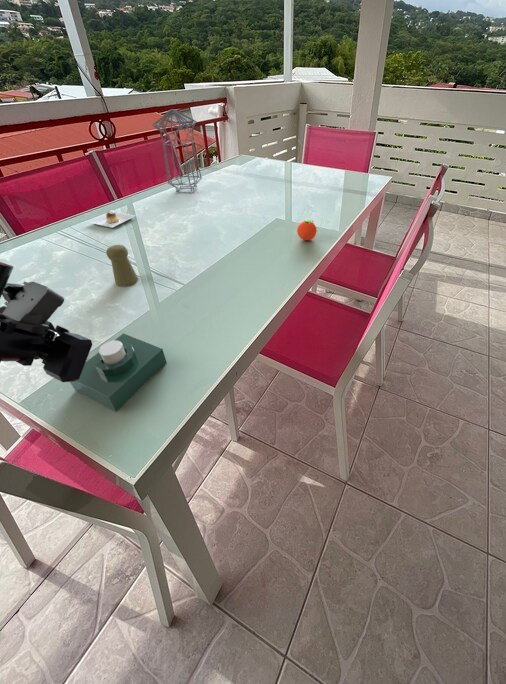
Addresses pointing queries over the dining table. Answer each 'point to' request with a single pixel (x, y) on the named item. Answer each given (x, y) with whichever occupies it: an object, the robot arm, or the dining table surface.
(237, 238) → the dining table surface
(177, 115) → the geometric lantern
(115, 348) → the white push button
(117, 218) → the dessert
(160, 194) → the dining table surface
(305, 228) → the clementine
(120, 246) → the cork
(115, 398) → the green push button box
